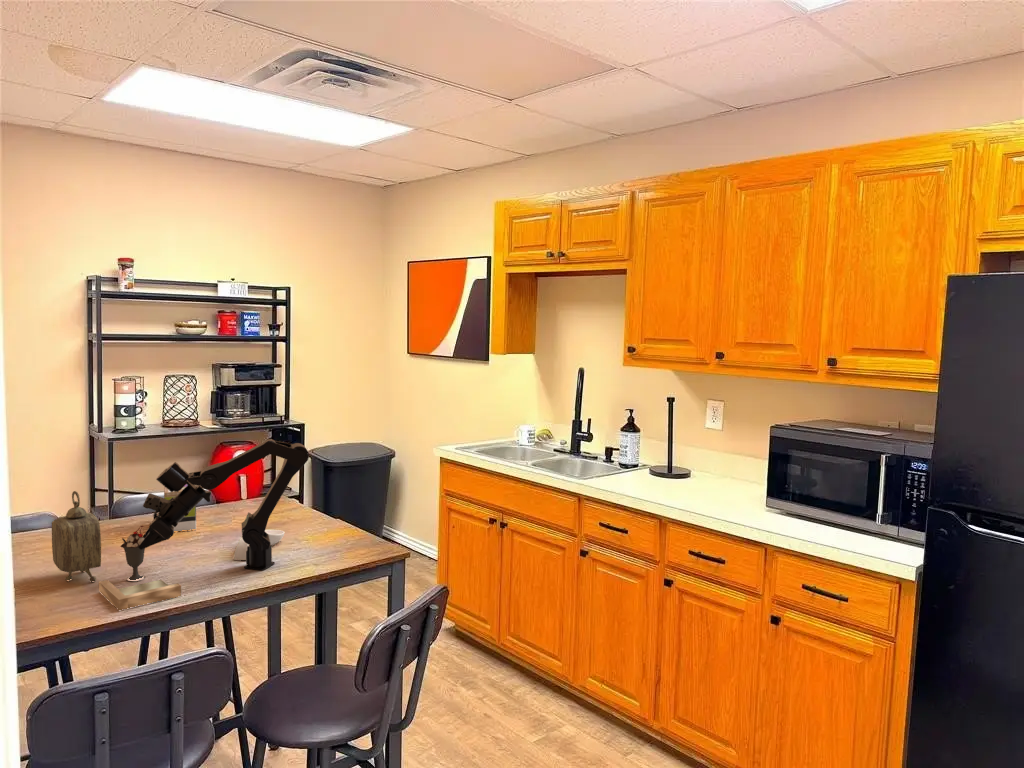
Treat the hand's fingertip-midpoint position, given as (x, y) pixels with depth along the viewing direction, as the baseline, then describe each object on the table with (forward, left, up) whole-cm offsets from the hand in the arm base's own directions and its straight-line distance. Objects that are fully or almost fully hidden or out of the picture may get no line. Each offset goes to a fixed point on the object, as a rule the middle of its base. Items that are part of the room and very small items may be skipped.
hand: (141, 543), depth 204 cm
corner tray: (-8, +11, -10) cm, 17 cm away
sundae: (+1, +1, -10) cm, 10 cm away
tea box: (+24, -47, -10) cm, 54 cm away
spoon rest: (-16, -33, -11) cm, 38 cm away
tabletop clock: (+16, +6, -10) cm, 20 cm away
